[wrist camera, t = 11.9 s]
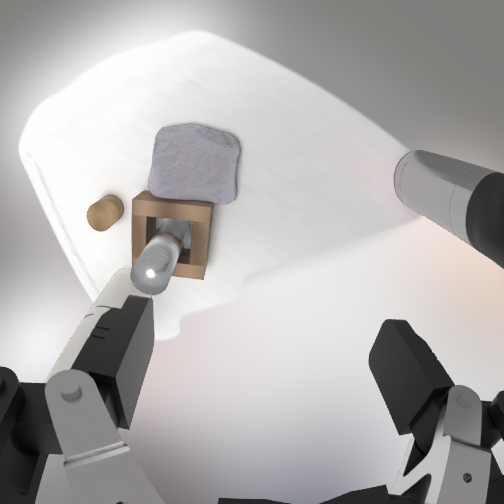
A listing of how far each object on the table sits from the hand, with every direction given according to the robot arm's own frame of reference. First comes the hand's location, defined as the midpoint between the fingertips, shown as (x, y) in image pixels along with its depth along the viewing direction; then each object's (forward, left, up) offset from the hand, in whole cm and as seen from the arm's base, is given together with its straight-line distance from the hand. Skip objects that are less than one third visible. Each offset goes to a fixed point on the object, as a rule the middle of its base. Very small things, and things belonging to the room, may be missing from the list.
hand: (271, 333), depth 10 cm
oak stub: (+19, +7, -33) cm, 39 cm away
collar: (+9, +9, -33) cm, 35 cm away
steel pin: (+9, +9, -33) cm, 35 cm away
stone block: (+7, -1, -34) cm, 34 cm away
